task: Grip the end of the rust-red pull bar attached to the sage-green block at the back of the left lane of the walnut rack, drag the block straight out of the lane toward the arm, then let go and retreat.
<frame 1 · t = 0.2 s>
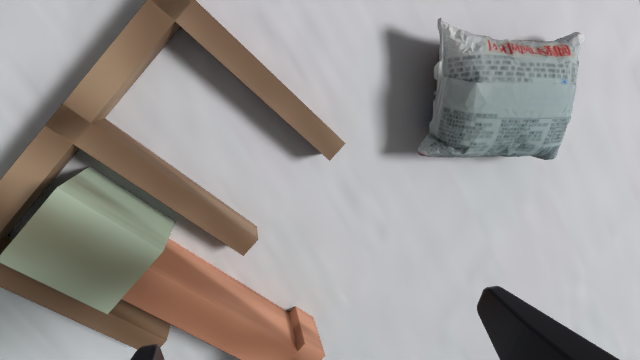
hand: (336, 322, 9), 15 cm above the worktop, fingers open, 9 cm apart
lane rack: (124, 232, 22), on the worktop
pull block: (110, 224, 21), on the worktop
packaged food: (479, 89, 25), on the worktop
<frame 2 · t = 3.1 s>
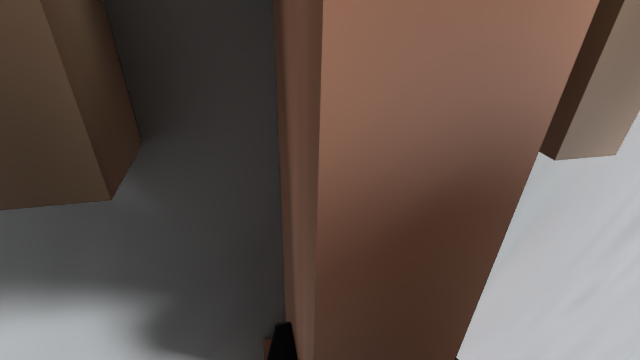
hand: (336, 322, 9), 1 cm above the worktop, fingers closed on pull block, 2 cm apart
when the fingers open (1 cm above the worktop, at t = 7.6 s): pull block stays where it is, on the worktop.
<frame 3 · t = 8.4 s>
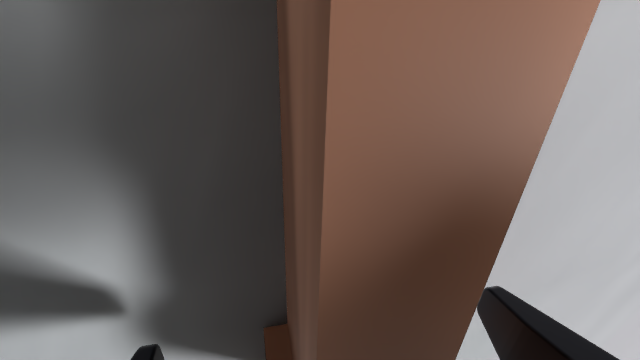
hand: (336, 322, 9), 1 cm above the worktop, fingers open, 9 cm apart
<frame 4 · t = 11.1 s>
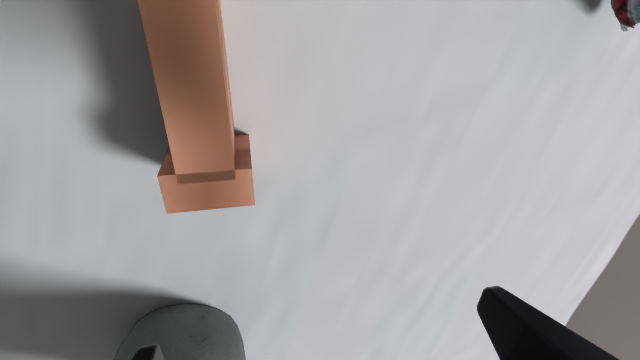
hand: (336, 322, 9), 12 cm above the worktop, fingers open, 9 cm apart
bottle: (186, 336, 26), on the worktop
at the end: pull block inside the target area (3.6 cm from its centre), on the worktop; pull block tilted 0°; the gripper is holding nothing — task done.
